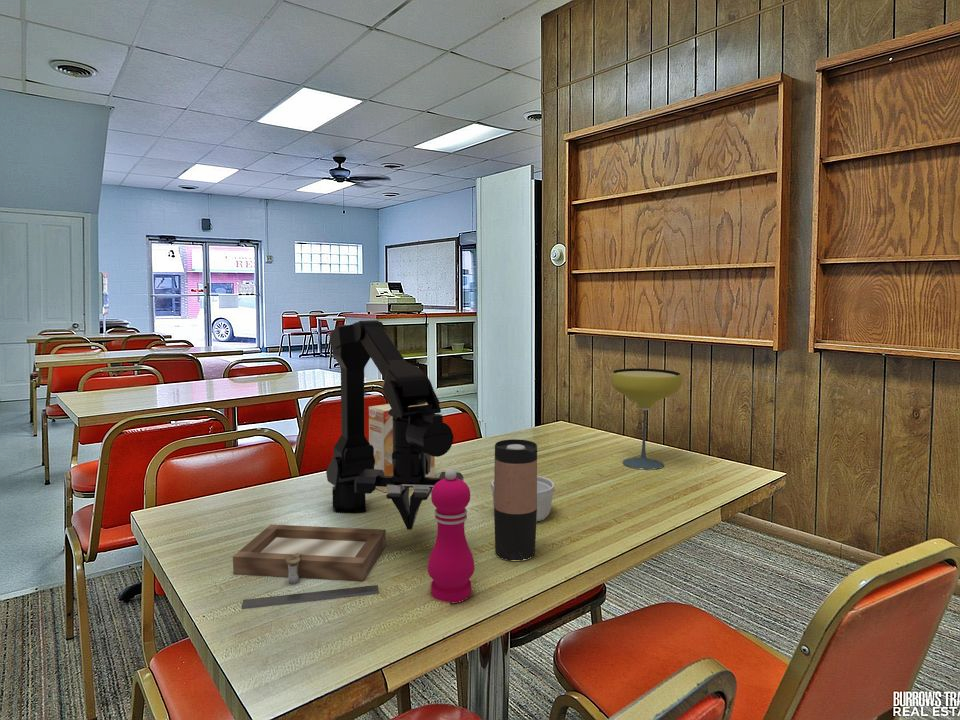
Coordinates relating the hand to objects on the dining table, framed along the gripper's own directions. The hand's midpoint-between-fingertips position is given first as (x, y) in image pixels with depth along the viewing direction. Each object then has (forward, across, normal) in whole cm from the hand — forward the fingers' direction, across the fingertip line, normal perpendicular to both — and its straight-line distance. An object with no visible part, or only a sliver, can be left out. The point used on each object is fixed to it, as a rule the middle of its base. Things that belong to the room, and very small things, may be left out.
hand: (410, 528), depth 111 cm
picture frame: (+4, +16, +7) cm, 18 cm away
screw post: (+4, +16, +14) cm, 22 cm away
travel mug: (+4, -19, -2) cm, 19 cm away
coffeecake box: (+5, +11, -39) cm, 41 cm away
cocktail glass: (+5, -50, -62) cm, 80 cm away
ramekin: (+5, -19, -21) cm, 29 cm away
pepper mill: (+4, -10, +14) cm, 18 cm away
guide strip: (+4, +11, +19) cm, 22 cm away
